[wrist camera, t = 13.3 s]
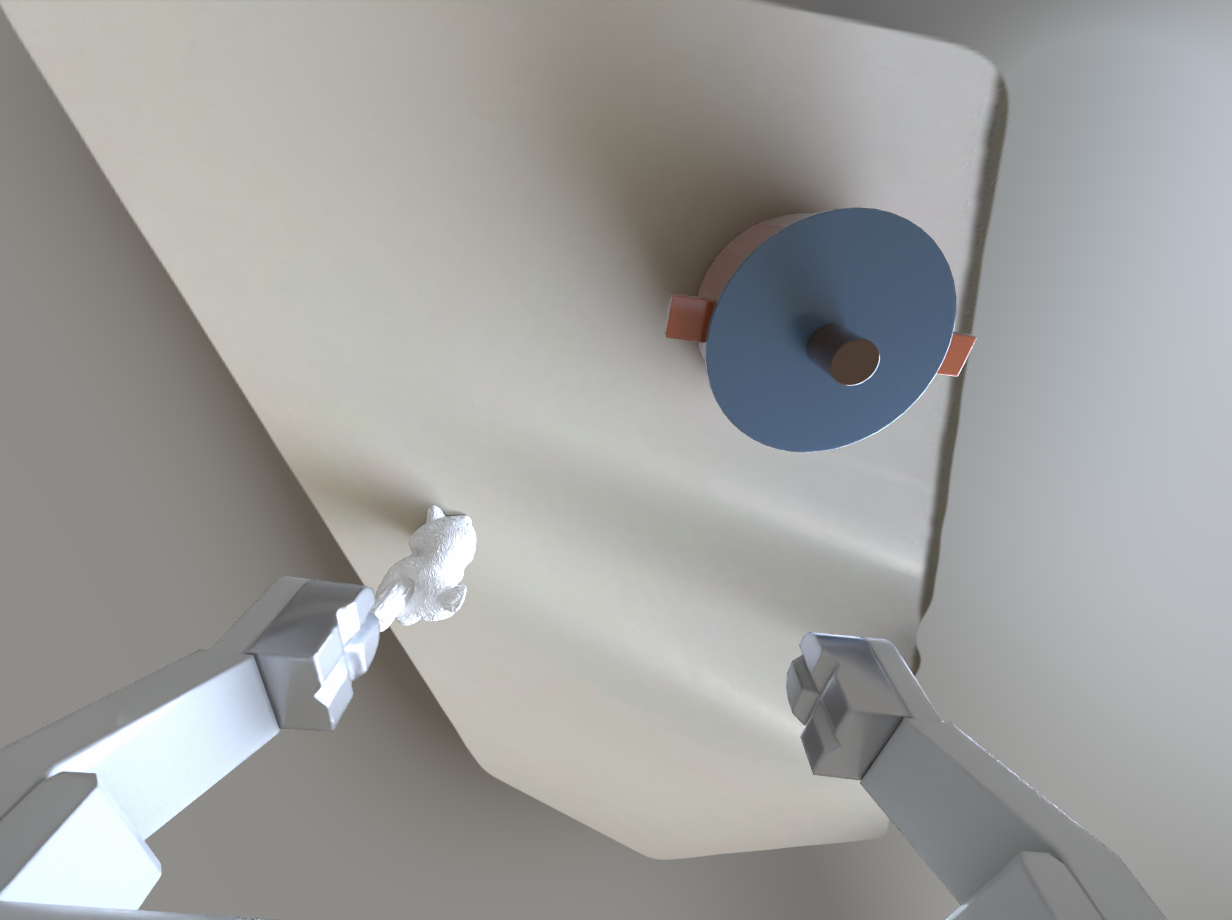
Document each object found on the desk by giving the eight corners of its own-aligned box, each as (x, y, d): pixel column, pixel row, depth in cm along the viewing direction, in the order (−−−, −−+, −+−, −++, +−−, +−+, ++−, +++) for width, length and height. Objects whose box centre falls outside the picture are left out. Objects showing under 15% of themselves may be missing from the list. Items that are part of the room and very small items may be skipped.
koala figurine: (408, 551, 45) (343, 655, 35) (398, 493, 42) (323, 588, 32) (496, 557, 45) (457, 662, 35) (492, 499, 42) (448, 596, 32)
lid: (734, 189, 24) (758, 184, 20) (989, 227, 24) (1064, 231, 20) (682, 430, 30) (692, 465, 26) (885, 455, 31) (926, 494, 27)
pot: (676, 195, 31) (692, 191, 23) (937, 234, 32) (1035, 242, 24) (645, 378, 37) (651, 421, 29) (866, 406, 38) (927, 455, 30)
